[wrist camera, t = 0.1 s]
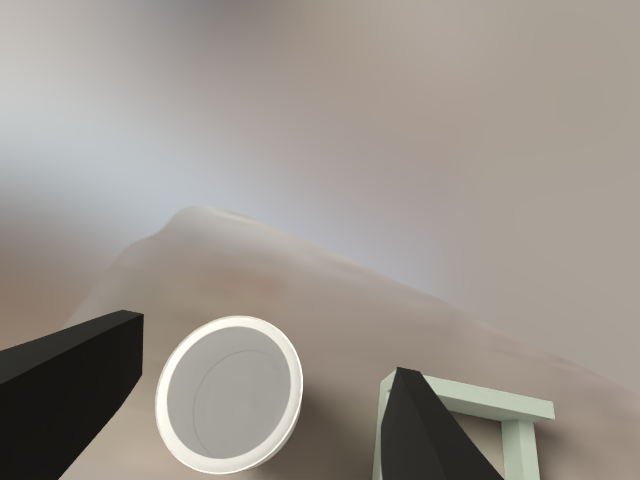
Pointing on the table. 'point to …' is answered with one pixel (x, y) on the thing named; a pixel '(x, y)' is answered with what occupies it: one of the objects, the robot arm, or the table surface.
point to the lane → (490, 405)
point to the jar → (229, 395)
